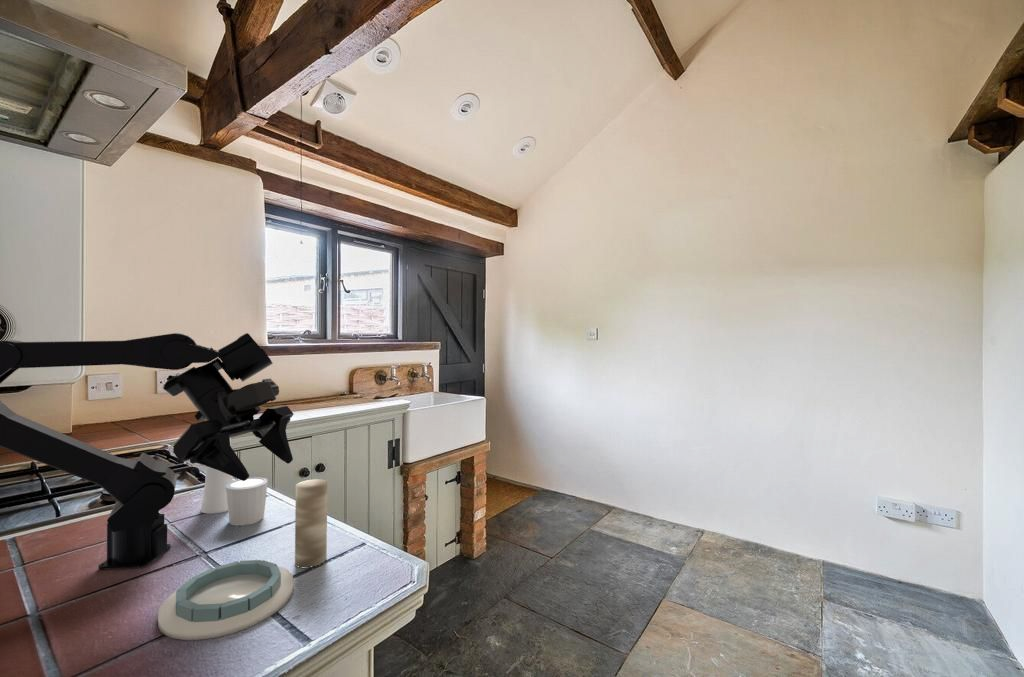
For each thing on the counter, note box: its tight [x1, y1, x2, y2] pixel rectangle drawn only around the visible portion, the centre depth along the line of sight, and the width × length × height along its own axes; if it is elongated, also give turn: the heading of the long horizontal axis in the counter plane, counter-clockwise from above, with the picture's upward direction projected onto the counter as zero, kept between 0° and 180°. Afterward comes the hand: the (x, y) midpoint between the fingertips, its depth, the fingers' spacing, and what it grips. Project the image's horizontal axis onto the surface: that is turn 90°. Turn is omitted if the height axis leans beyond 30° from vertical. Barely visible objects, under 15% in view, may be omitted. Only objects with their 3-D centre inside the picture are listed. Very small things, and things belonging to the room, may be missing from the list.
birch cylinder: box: [294, 478, 328, 568], centre depth 70 cm, size 4×4×12 cm
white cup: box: [226, 476, 268, 527], centre depth 85 cm, size 7×7×7 cm
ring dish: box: [157, 559, 295, 641], centre depth 59 cm, size 15×15×2 cm
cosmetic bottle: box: [200, 437, 234, 515], centre depth 89 cm, size 6×6×22 cm
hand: (270, 469), depth 71 cm, fingers open, 9 cm apart
